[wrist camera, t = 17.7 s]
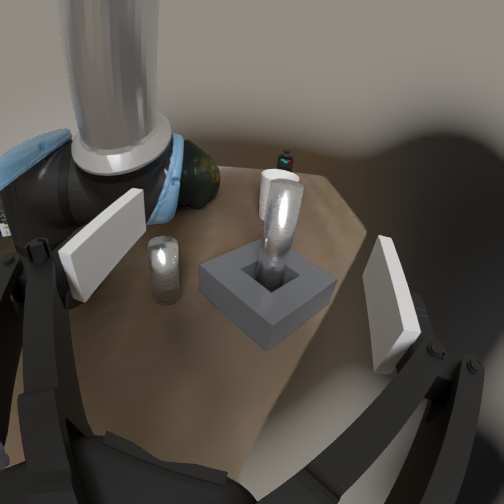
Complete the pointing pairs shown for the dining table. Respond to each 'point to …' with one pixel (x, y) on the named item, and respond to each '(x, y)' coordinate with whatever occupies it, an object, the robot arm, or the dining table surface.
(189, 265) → the dining table surface
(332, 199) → the dining table surface
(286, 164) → the controller
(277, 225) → the long steel pin
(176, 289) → the short steel pin
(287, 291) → the charcoal collar block
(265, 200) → the white cup
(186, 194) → the squash
